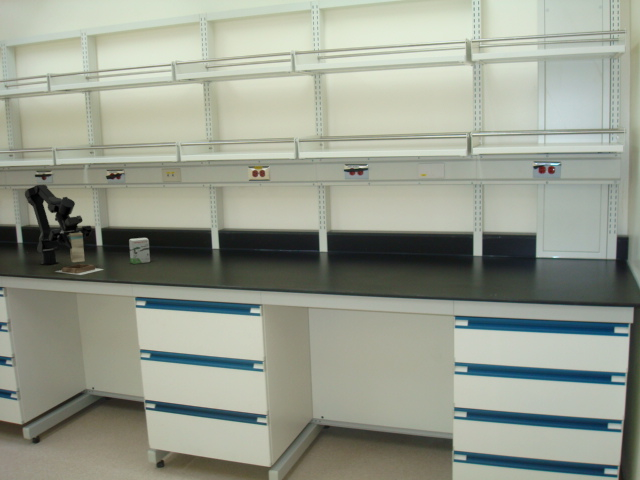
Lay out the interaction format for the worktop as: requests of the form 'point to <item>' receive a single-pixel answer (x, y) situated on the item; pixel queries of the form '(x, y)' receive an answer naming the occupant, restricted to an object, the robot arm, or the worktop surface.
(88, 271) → the mat
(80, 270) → the brown wooden tray
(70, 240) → the tan box
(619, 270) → the worktop surface
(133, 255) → the ink box
